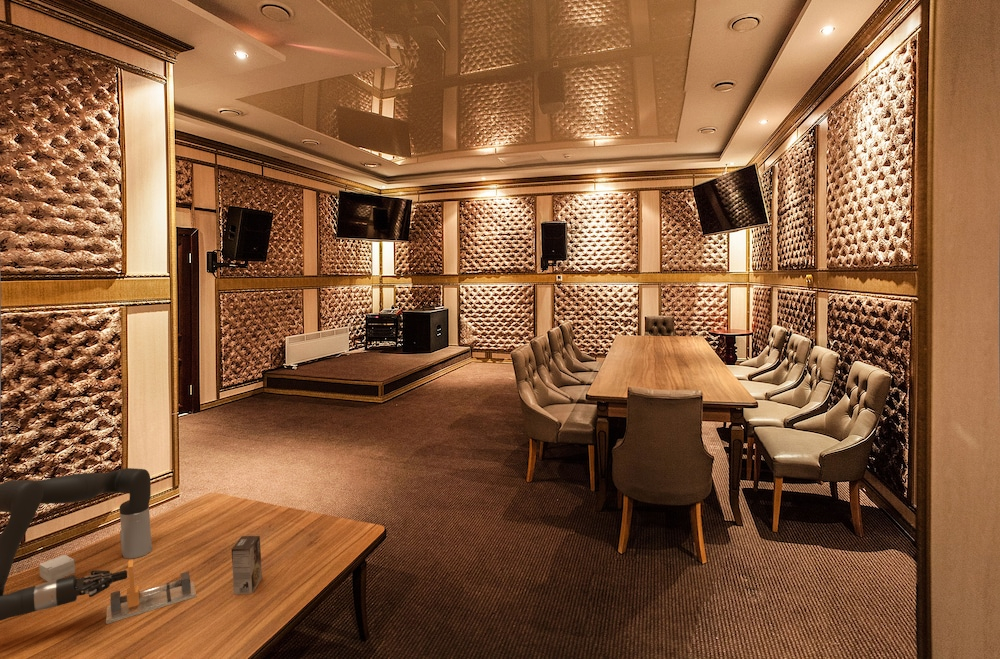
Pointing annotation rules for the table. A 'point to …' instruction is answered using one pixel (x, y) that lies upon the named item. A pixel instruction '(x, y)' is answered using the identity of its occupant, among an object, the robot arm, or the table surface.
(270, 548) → the table surface
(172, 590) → the pipe stand
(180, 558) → the table surface
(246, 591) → the coffee box
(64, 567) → the small box
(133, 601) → the orange wooden plank
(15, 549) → the robot arm
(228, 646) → the table surface
